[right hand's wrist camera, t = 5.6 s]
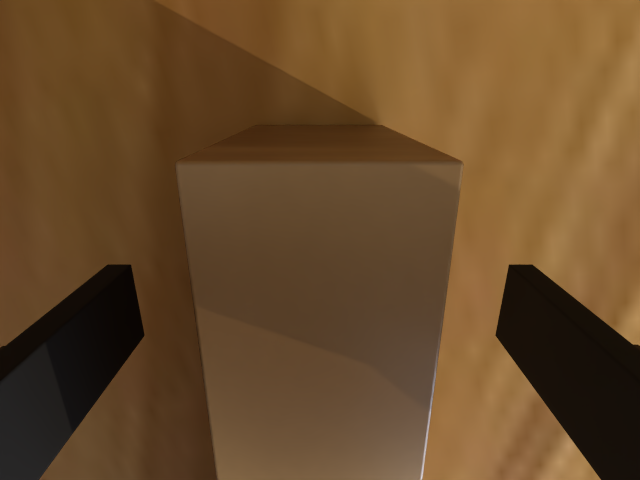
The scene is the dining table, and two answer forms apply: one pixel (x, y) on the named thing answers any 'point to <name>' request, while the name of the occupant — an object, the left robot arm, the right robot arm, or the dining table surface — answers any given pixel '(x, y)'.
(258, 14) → the dining table surface
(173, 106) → the dining table surface
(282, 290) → the beam
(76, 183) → the dining table surface
